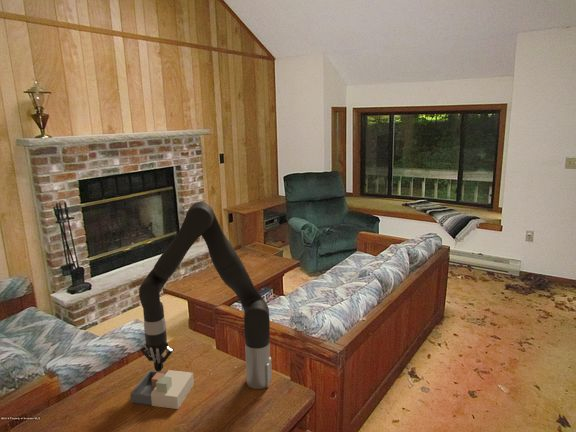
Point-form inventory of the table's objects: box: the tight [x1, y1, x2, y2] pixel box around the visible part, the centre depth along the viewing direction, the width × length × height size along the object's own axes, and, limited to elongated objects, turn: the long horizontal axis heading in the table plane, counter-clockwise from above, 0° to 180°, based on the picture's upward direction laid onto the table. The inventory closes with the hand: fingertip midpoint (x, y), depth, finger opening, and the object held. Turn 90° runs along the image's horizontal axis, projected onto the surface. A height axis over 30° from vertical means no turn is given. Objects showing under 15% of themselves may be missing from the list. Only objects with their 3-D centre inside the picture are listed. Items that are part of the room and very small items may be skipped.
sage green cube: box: [156, 376, 172, 393], centre depth 151 cm, size 4×4×4 cm
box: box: [130, 369, 168, 406], centre depth 157 cm, size 8×14×4 cm, turn 169°
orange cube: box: [152, 373, 165, 388], centre depth 160 cm, size 4×4×4 cm
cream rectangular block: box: [151, 369, 195, 410], centre depth 155 cm, size 10×14×5 cm
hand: (159, 370), depth 159 cm, fingers closed
